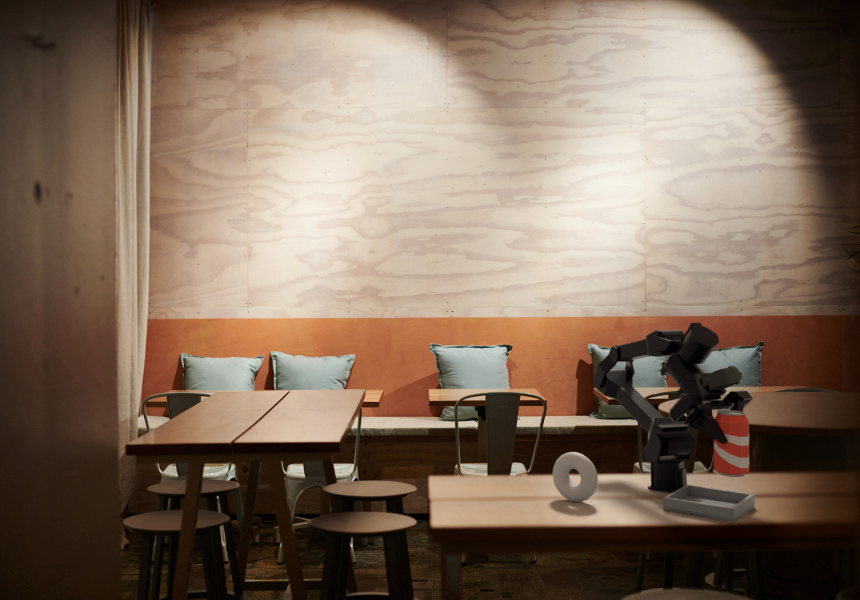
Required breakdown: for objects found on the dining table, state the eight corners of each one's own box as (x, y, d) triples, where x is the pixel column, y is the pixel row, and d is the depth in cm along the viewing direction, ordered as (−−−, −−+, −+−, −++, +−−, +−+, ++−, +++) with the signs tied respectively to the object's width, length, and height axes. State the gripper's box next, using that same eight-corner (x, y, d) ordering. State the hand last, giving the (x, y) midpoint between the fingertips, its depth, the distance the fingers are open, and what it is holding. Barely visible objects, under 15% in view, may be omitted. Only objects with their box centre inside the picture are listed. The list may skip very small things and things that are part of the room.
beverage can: (741, 479, 129) (741, 416, 129) (708, 473, 134) (708, 412, 134) (754, 474, 133) (754, 412, 134) (722, 468, 138) (721, 408, 138)
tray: (663, 510, 133) (663, 497, 133) (687, 496, 143) (687, 484, 143) (734, 523, 125) (733, 509, 125) (754, 507, 134) (754, 494, 135)
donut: (601, 504, 138) (600, 454, 138) (592, 507, 135) (592, 456, 136) (558, 495, 145) (558, 447, 145) (549, 498, 142) (548, 450, 142)
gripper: (681, 354, 133) (731, 420, 123) (744, 350, 142) (795, 411, 132) (649, 390, 140) (694, 455, 130) (711, 385, 149) (758, 445, 139)
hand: (737, 441), depth 133 cm, fingers closed on beverage can, 6 cm apart
